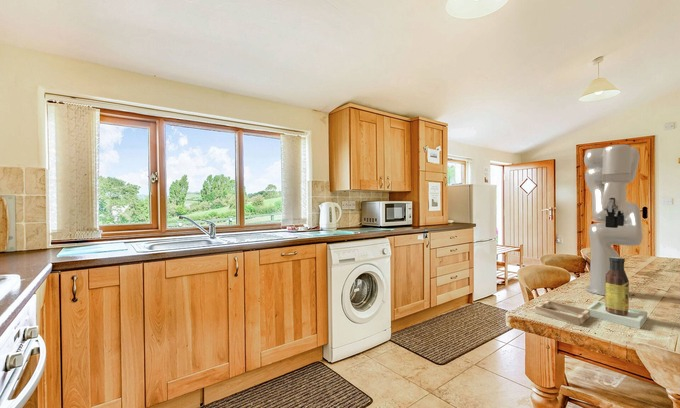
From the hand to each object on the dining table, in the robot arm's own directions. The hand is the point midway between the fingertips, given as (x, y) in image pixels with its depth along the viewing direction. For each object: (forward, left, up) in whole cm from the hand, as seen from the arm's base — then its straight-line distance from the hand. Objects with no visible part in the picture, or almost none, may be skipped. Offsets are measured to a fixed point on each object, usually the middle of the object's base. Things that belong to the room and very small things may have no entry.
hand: (614, 226), depth 107 cm
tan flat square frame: (+16, -11, -32) cm, 38 cm away
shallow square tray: (+2, +1, -32) cm, 32 cm away
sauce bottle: (+2, +1, -31) cm, 31 cm away
